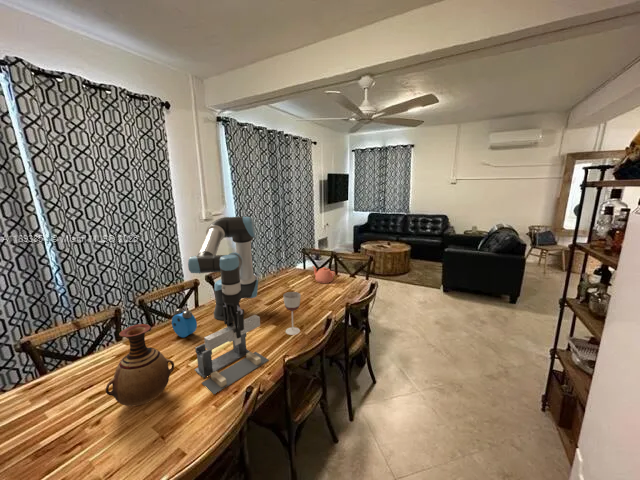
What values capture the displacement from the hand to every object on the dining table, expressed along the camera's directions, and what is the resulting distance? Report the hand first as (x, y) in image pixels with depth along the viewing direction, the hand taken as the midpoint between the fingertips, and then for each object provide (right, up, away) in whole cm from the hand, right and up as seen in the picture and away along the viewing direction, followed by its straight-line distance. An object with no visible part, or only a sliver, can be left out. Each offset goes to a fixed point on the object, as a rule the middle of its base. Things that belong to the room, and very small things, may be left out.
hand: (235, 342), depth 119 cm
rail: (0, +3, -1) cm, 3 cm away
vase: (-31, -18, -13) cm, 38 cm away
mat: (0, -14, +3) cm, 15 cm away
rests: (0, -14, +3) cm, 15 cm away
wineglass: (+22, -8, +36) cm, 43 cm away
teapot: (+40, +9, +115) cm, 122 cm away
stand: (-9, -13, +10) cm, 18 cm away
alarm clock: (-38, -8, +32) cm, 50 cm away
